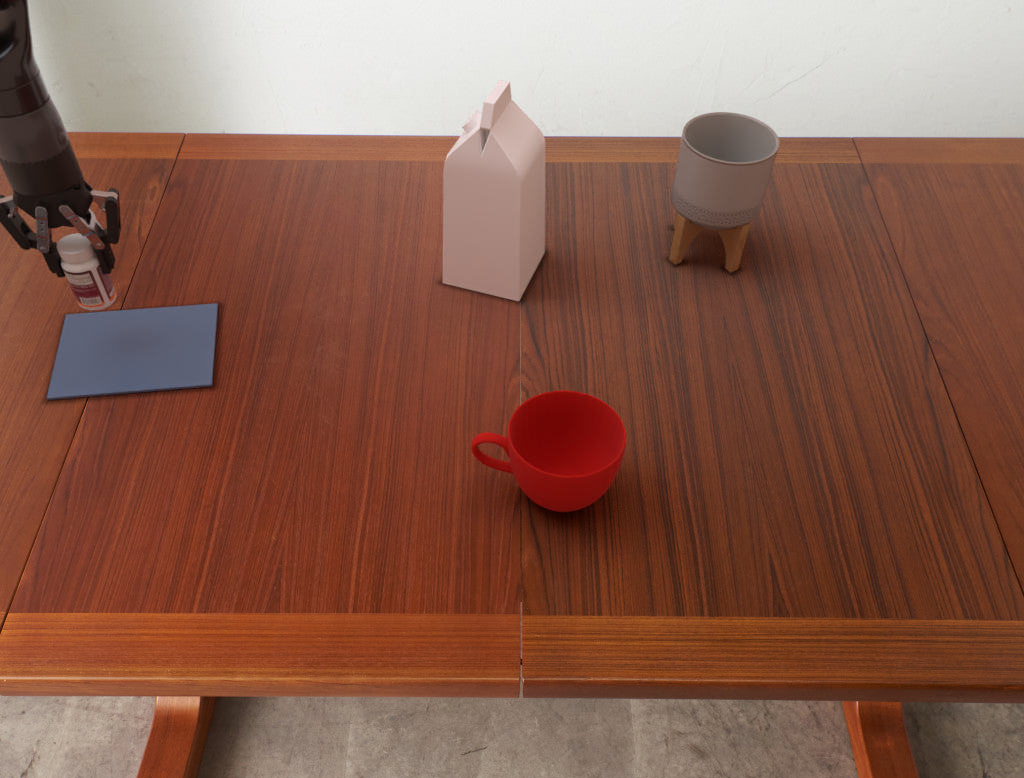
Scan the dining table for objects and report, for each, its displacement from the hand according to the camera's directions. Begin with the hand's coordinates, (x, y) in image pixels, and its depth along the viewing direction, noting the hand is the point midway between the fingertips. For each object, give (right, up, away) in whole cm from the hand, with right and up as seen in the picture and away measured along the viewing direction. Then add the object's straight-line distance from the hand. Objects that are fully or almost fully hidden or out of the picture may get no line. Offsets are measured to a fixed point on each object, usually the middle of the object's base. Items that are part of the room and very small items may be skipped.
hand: (85, 271), depth 110 cm
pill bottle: (0, -3, +4) cm, 5 cm away
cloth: (+3, -8, +8) cm, 12 cm away
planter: (+81, +10, +25) cm, 86 cm away
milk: (+50, +6, +21) cm, 54 cm away
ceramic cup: (+56, -27, -4) cm, 62 cm away
